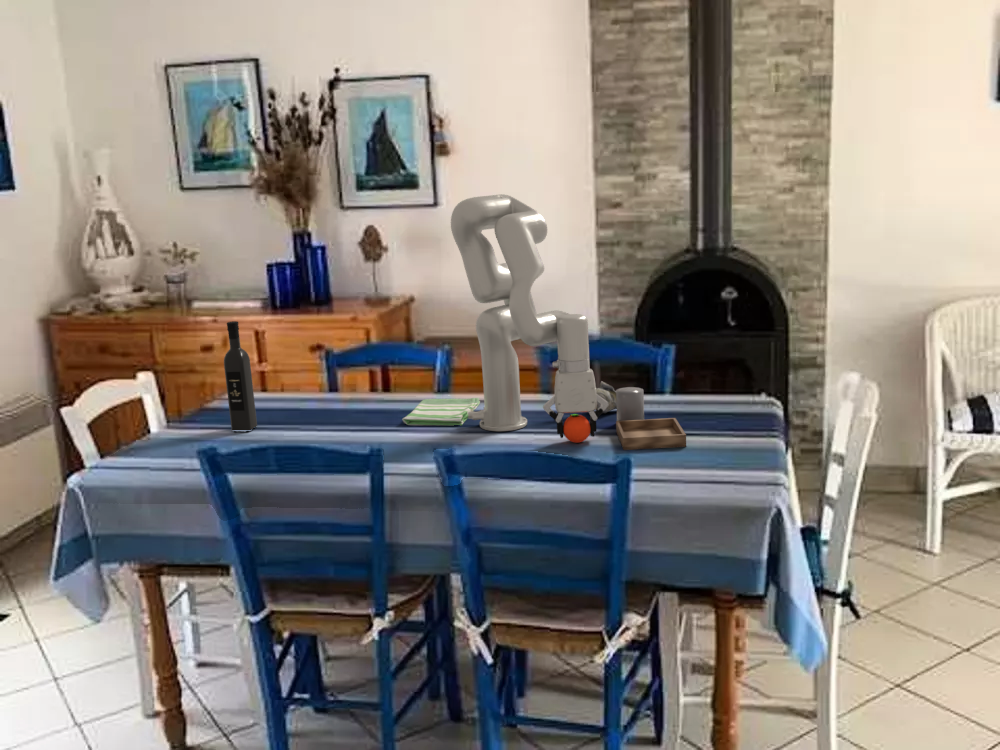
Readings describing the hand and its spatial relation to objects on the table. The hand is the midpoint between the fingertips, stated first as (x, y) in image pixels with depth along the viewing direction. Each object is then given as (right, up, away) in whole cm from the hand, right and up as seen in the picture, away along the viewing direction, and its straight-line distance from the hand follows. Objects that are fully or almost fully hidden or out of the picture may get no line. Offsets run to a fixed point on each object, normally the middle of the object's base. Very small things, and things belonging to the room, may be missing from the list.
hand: (576, 435), depth 253 cm
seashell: (+7, +5, +27) cm, 28 cm away
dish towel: (-35, +3, +33) cm, 48 cm away
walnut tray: (+18, -1, -1) cm, 18 cm away
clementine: (0, -2, 0) cm, 2 cm away
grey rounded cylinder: (+15, +2, +13) cm, 20 cm away
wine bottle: (-89, 0, +28) cm, 93 cm away
